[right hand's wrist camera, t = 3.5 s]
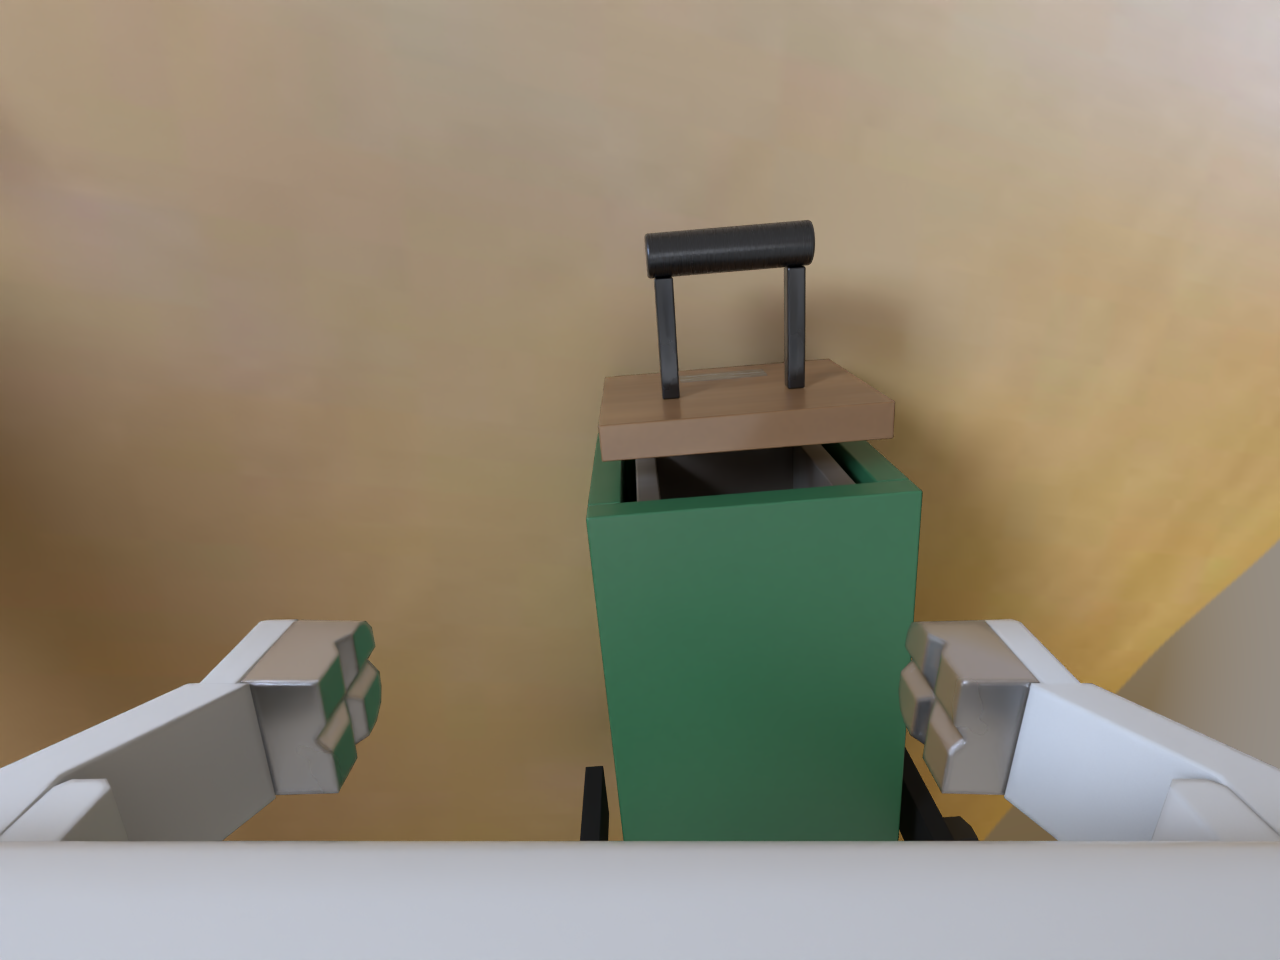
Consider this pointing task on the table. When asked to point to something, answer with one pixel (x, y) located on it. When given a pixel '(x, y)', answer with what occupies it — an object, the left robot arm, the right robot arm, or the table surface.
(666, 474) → the drawer
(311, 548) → the table surface
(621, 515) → the cabinet
